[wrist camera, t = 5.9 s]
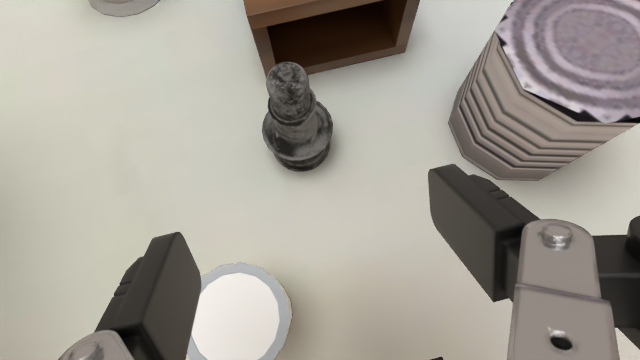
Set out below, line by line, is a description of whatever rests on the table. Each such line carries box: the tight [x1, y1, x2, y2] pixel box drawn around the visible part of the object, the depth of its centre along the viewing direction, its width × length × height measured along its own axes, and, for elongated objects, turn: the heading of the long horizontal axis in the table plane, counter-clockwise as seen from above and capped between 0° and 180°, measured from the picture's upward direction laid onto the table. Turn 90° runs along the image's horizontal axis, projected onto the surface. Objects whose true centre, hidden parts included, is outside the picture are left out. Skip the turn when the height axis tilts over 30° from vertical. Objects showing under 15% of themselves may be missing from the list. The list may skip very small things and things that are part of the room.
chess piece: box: [262, 62, 333, 171], centre depth 27 cm, size 6×6×12 cm
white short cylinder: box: [187, 262, 292, 360], centre depth 25 cm, size 7×7×7 cm
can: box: [448, 0, 640, 181], centre depth 27 cm, size 11×11×12 cm
